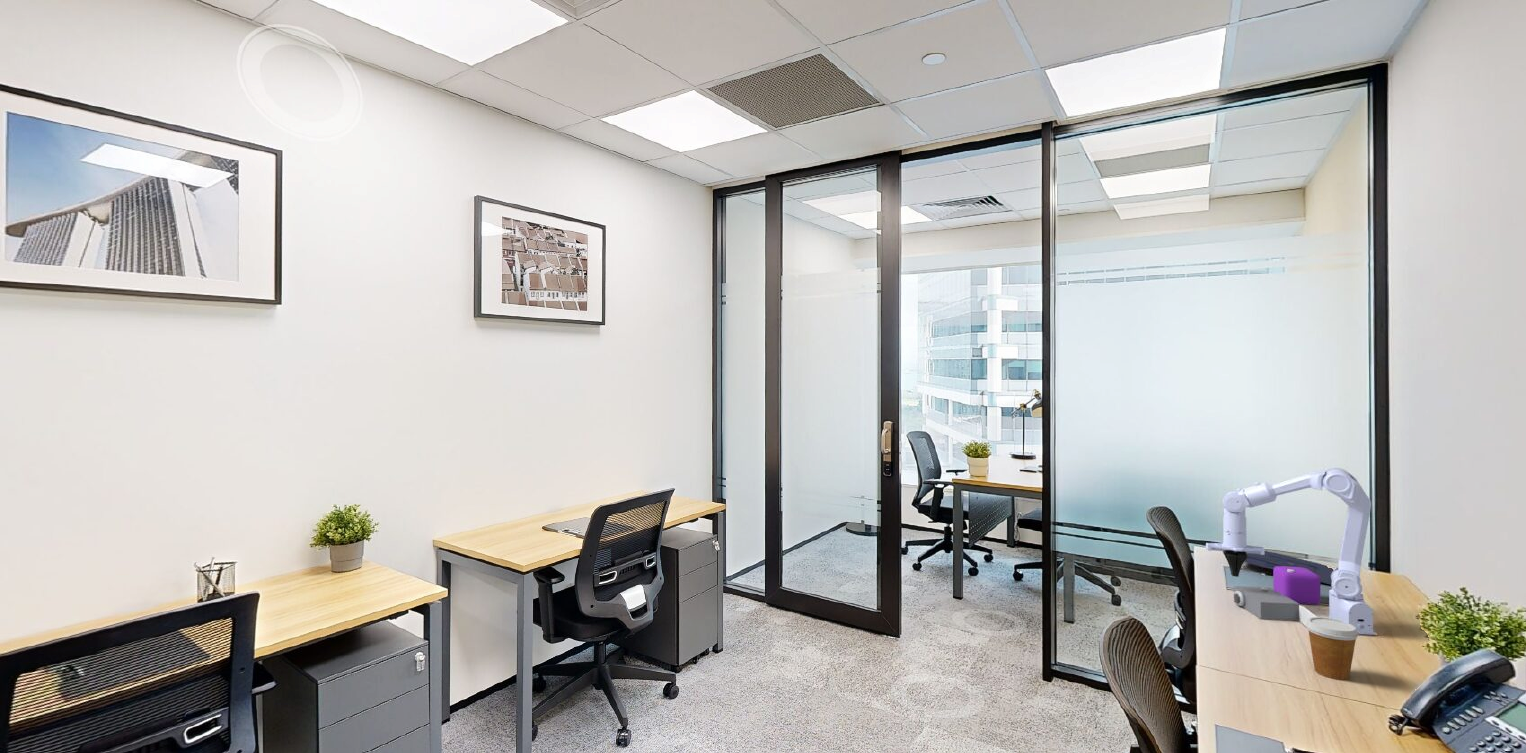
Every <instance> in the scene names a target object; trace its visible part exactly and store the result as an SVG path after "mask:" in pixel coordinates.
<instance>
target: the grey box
mask: <svg viewBox="0 0 1526 753" xmlns="http://www.w3.org/2000/svg"><path fill="white" fill-rule="evenodd" d="M1233 602H1234V603H1235V605H1236V606H1238V607H1241V608H1243V609H1244V610H1246V611H1248V612H1249V613H1250V614H1251V615H1253V616H1255V617H1256V618H1258V619H1259V620H1264V621H1265V620H1267V621H1268V620H1271V621H1292V622H1300V606H1302V607H1304V606H1303V605H1302V604H1300V603H1297V602H1295V601H1293V600H1292V599H1290V598H1288V597H1286V596H1284V595H1283V594H1281V593H1279V592H1277V591H1275V590H1274V588H1272V587H1268V586H1243V585H1242V586H1240V585H1234V586H1233Z"/></svg>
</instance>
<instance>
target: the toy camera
mask: <svg viewBox="0 0 1526 753" xmlns="http://www.w3.org/2000/svg"><path fill="white" fill-rule="evenodd" d="M1272 572H1273V574H1272V578H1273V580H1272V581H1273V582H1272V584H1273V588H1272V589H1274V590H1275V591H1277V592H1279V593H1281V594H1283V595H1284V596H1286V597H1288V598H1290V599H1292V600H1293V601H1295V602H1297V603H1299V604H1300V605H1302V604H1303V605H1318V604H1320V603H1321V582H1320V577H1319V576H1318V575H1316V574H1315V573H1313V572H1311V571H1310V570H1308V569H1306V568H1301V567H1287V566H1276V567H1274V569H1273V571H1272Z"/></svg>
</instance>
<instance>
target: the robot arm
mask: <svg viewBox="0 0 1526 753" xmlns="http://www.w3.org/2000/svg"><path fill="white" fill-rule="evenodd" d="M1323 487H1324V488H1325V490H1326V491H1328V492H1329V493H1331V494H1333V495H1335V496H1336V497H1339V498H1340V500H1342V501H1343V502H1344V503H1345V504H1346V505H1347V506H1348V507H1347V510H1346V512H1347V513H1346V518H1345V523H1344V529H1343V535H1342V540H1341V545H1340V546H1341V547H1340V552H1339V557H1338V560H1337V565H1336V567H1335V568H1336V569H1335V570H1334V571H1333V572H1332V574H1331V580H1332V585H1331V589H1329V590H1328V598H1329V600H1328V601H1329V602H1328V609H1329V610H1328V612H1329V613H1328V614H1329V615H1328V618H1331V619H1336V620H1340V621H1343V622H1347V623H1349V624H1351V625H1353V626H1354V627H1355V628H1356V631H1357V632H1358V634H1359V635H1371V636H1373V635H1375V636H1377V632H1376V631H1374V612H1373V610H1372V608H1371V606H1369V605H1368V604H1367V603H1366V602H1365V596H1364V593H1363V594H1362V592H1363V586H1362V583H1361V577H1360V576H1361V566H1362V559H1363V554H1364V549H1365V548H1364V547H1365V542H1366V537H1367V532H1368V526H1369V521H1370V519H1369V518H1370V514H1371V509H1372V501H1371V499H1370V497H1369V496H1368V495H1367V493H1366V492H1365V490H1364V489H1363V487H1362V485H1361V483H1359V481H1358V479H1357V477H1355V476H1354V475H1352V474H1351V473H1350V472H1348V470H1346V469H1344V468H1341V467H1333V468H1328V469H1327V470H1325V469H1323V470H1317V471H1314V472H1313V471H1312V472H1310V473H1306V474H1303V475H1299V476H1297V477H1294V478H1290V479H1287V480H1285V481H1281V482H1277V483H1275V484H1269V483H1267V482H1262V483H1261V482H1260V481H1258V482H1254V485H1252V486H1248V487H1244V488H1241V487H1238V488H1237V489H1236V490H1235V491H1234V490H1231V491H1229V492H1227V493H1226V494H1225V495H1224V496H1223V498H1222V506H1223V516H1222V518H1223V519H1222V520H1223V521H1222V526H1223V527H1222V533H1223V534H1222V537H1223V539H1222V540H1223V541H1222V542H1206V543H1205V550H1207V551H1209V552H1212V551H1216V552H1217V551H1218V552H1222V553H1223V555H1224V558H1225V559H1226V561H1227V563H1228V566H1229V567H1228V568H1229V569H1230V570H1229V571H1230V575H1231V576H1232V577H1239V575H1240V573H1241V572H1240V571H1241V569H1242V567H1243V565H1244V563H1245V562H1244V561H1245V560H1246V559H1247V554H1246V553H1254V554H1260V555H1265V551H1266V548H1264V547H1263V546H1258V545H1257V546H1256V545H1249V544H1247V516H1246V509H1247V508H1255V507H1259V506H1262V505H1265V504H1268V503H1269V504H1270V503H1272V502H1273V503H1274V502H1275V501H1276V499H1277V497H1278V496H1282V495H1285V494H1289V493H1292V492H1296V491H1297V492H1299V491H1301V490H1305V489H1314V490H1319V491H1323Z"/></svg>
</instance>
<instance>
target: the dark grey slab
mask: <svg viewBox="0 0 1526 753" xmlns="http://www.w3.org/2000/svg"><path fill="white" fill-rule="evenodd" d="M1246 554H1247V559H1246V560H1245V561H1244V563H1248V564H1251V565H1254V566H1257V567H1261V568H1266V569H1271V570H1274V567H1276V566H1287V567H1301V568H1306V569H1308V570H1310V571H1311V572H1313V573H1315V574H1316V575H1318V576H1319V577H1320V583H1323V584H1327V585H1330V586H1332V580H1331V574H1332V572H1333V571H1334V570H1333V569H1332V568H1328V567H1327V566H1328V565H1326V564H1321V563H1318V562H1314V561H1311V560H1307V559H1303V558H1299V557H1295V556H1291V555H1285V554H1282V553H1278V552H1274V551H1273V552H1272V551H1268V550H1265V555H1260V554H1254V553H1246Z"/></svg>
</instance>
